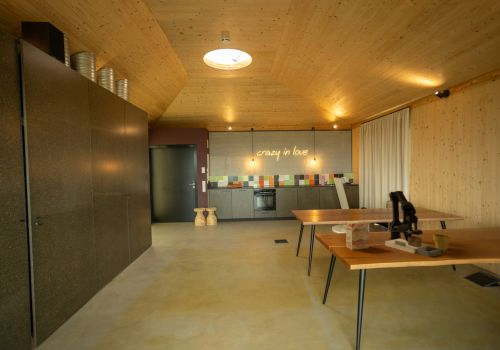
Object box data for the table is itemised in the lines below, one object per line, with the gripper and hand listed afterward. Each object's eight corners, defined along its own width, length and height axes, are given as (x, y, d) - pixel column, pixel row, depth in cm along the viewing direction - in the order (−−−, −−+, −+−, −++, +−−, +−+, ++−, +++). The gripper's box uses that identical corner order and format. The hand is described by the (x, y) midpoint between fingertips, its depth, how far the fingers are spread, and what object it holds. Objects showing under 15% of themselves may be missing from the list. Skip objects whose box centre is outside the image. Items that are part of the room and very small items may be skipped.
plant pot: (442, 251, 183) (442, 237, 183) (429, 247, 193) (429, 234, 193) (454, 250, 185) (454, 236, 185) (440, 246, 195) (440, 233, 195)
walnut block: (408, 245, 189) (408, 236, 189) (413, 244, 191) (413, 235, 191) (416, 247, 183) (416, 238, 183) (421, 246, 186) (421, 237, 186)
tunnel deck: (385, 245, 199) (385, 238, 199) (399, 242, 207) (399, 235, 207) (428, 257, 171) (428, 249, 171) (443, 253, 179) (443, 245, 179)
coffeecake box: (352, 250, 188) (351, 223, 188) (345, 247, 195) (345, 221, 195) (369, 248, 192) (369, 222, 192) (362, 245, 199) (362, 220, 199)
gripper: (388, 219, 197) (388, 239, 197) (413, 224, 180) (413, 246, 180) (398, 218, 202) (398, 238, 202) (423, 222, 185) (422, 244, 185)
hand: (407, 241), depth 192 cm, fingers closed
